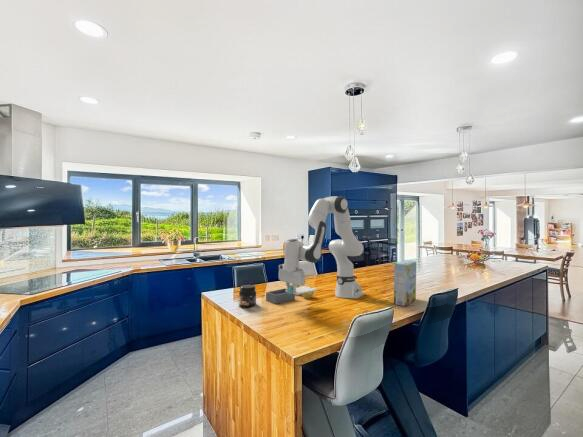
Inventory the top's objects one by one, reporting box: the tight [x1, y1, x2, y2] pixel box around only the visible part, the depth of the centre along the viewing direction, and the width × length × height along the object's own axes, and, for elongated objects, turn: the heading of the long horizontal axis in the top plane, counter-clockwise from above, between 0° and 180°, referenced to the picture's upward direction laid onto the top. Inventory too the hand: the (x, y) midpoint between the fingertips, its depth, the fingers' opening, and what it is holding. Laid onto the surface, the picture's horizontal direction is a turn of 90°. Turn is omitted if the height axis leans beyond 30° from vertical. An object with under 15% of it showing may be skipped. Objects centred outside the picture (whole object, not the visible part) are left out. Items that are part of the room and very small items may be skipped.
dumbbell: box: [290, 283, 315, 299], centre depth 200 cm, size 19×9×8 cm, turn 38°
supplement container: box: [238, 284, 257, 309], centre depth 177 cm, size 10×10×12 cm
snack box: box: [393, 259, 417, 307], centre depth 185 cm, size 22×9×26 cm, turn 143°
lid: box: [285, 285, 318, 296], centre depth 173 cm, size 18×10×4 cm, turn 131°
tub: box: [265, 288, 296, 305], centre depth 188 cm, size 16×10×6 cm, turn 131°
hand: (291, 290), depth 169 cm, fingers closed on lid, 3 cm apart
